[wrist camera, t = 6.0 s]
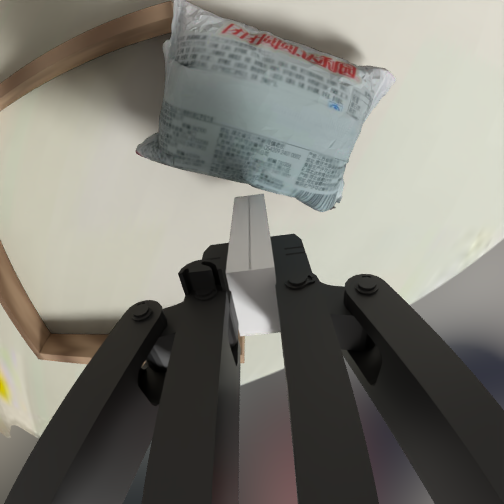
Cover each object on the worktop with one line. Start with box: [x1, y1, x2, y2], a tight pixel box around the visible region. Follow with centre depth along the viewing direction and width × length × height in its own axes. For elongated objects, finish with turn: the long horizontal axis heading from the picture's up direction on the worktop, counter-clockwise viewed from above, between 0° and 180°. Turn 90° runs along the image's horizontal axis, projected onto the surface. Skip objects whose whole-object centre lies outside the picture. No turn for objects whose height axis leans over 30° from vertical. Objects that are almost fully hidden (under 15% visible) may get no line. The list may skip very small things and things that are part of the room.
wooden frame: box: [0, 1, 245, 366], centre depth 17 cm, size 22×24×3 cm
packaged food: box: [136, 0, 396, 212], centre depth 13 cm, size 9×12×5 cm
